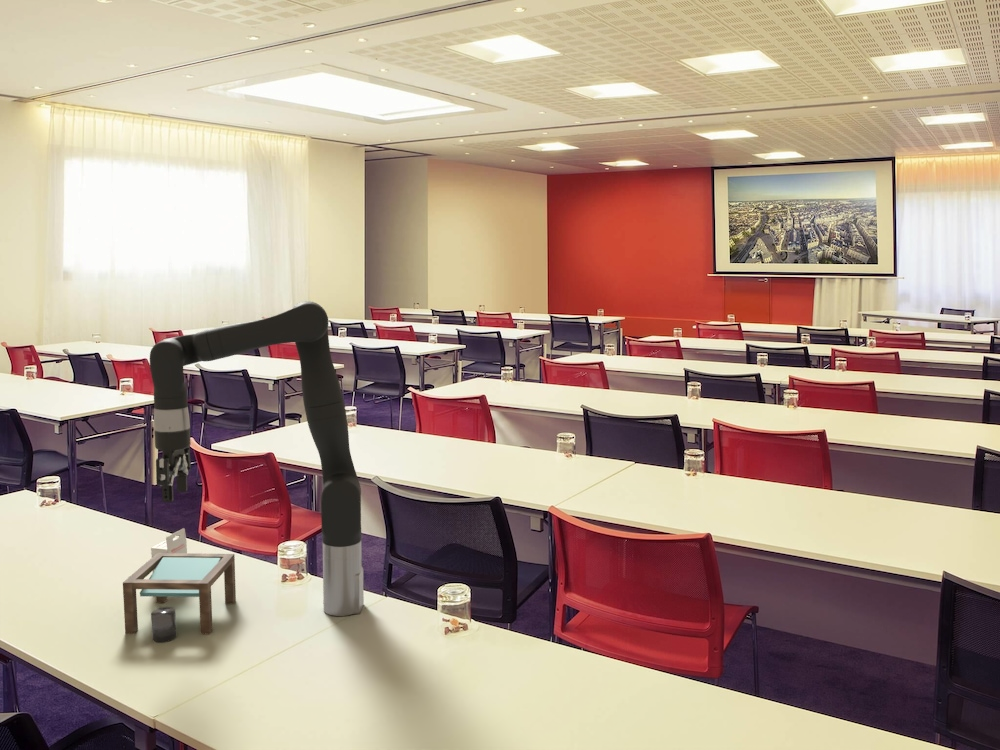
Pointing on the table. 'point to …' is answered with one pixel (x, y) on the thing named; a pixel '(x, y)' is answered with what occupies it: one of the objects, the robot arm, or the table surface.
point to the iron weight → (163, 624)
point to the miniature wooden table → (180, 587)
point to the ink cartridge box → (172, 544)
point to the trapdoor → (180, 574)
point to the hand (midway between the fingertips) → (175, 496)
